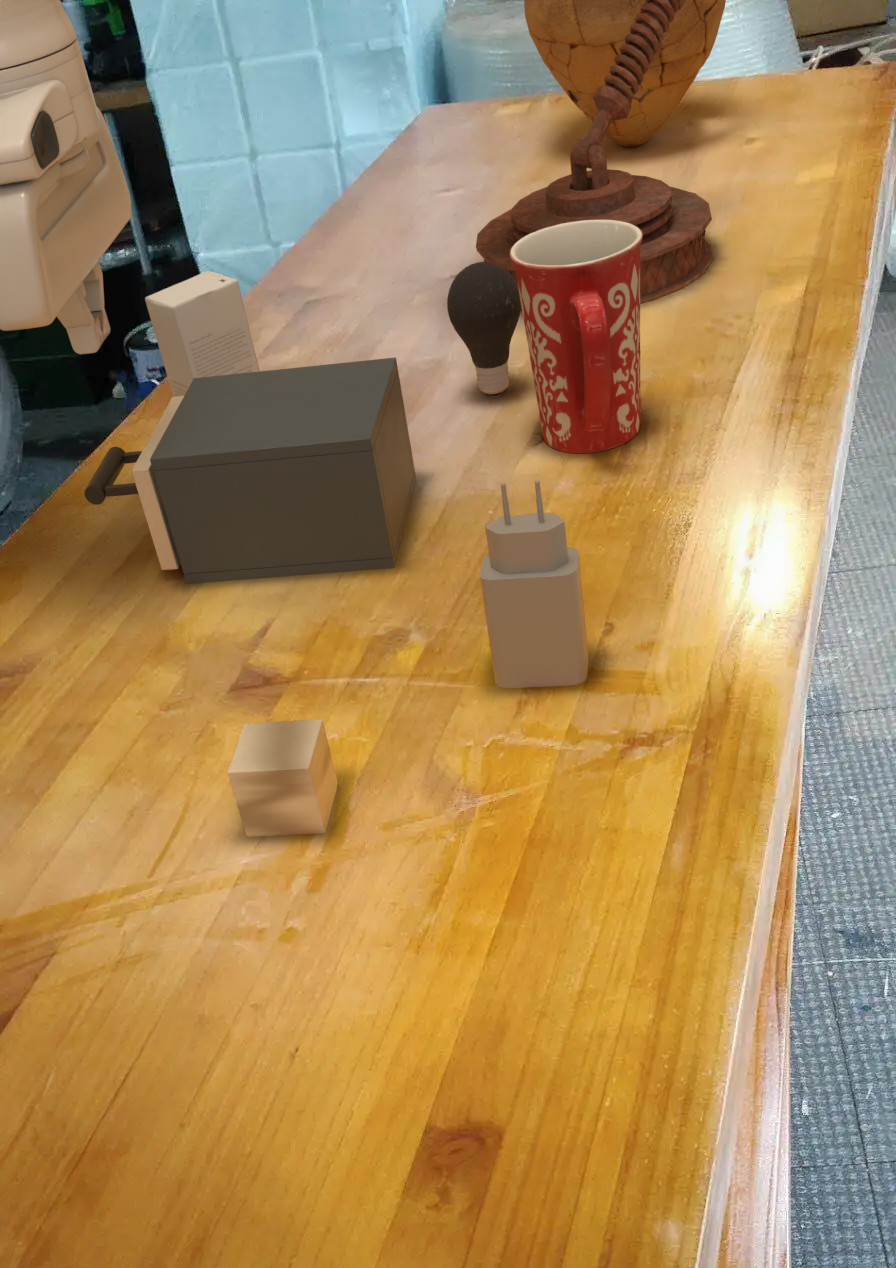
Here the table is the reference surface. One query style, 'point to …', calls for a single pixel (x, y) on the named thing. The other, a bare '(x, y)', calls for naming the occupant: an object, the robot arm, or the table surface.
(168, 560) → the drawer
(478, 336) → the light bulb
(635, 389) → the mug
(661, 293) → the desk lamp
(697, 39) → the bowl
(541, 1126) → the table surface
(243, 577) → the cabinet
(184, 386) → the cosmetic box
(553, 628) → the power adapter
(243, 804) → the block
